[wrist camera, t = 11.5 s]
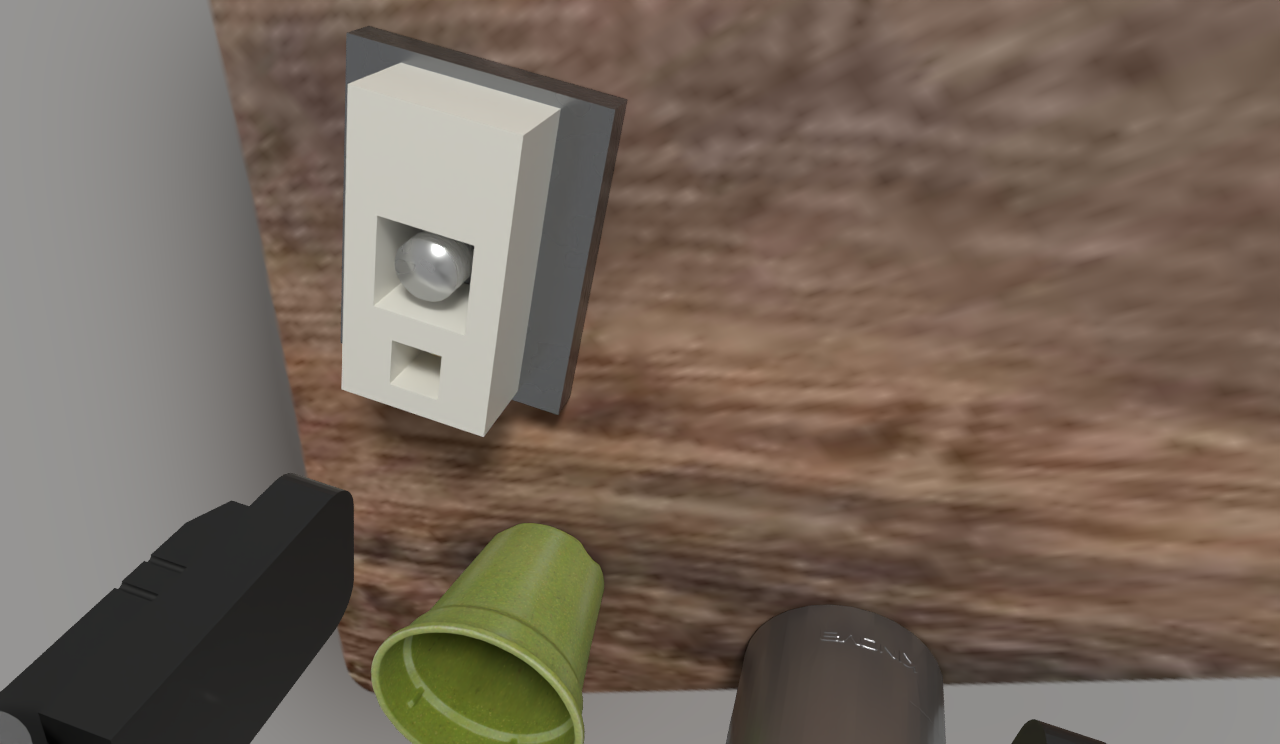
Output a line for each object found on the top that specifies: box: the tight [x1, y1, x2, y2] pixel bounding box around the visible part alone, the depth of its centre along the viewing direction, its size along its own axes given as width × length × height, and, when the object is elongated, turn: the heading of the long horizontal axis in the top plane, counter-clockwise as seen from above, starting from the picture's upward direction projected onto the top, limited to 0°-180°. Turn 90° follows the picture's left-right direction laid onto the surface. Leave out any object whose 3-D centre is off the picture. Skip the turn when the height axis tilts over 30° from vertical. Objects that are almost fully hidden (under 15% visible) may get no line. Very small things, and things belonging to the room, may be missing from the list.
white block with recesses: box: [342, 63, 561, 437], centre depth 32 cm, size 12×6×4 cm, turn 167°
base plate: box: [341, 26, 627, 415], centre depth 33 cm, size 13×10×4 cm
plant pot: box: [371, 523, 604, 744], centre depth 40 cm, size 9×9×9 cm
